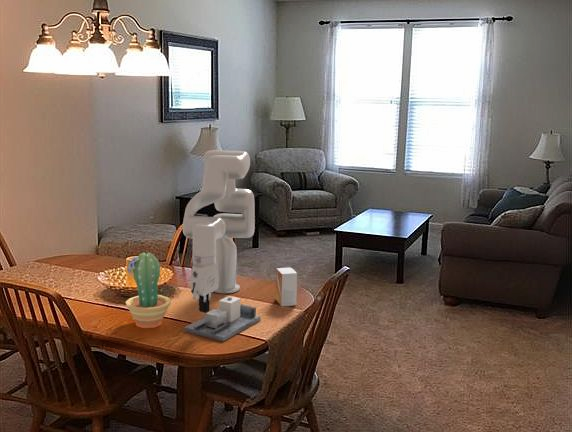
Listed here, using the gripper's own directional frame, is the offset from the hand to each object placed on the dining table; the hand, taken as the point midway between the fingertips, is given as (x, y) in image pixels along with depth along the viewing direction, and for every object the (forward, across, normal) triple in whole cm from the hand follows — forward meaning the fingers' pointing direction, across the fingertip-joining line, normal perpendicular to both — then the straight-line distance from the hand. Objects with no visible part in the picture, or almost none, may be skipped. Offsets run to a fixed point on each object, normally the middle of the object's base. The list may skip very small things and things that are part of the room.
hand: (204, 311), depth 211 cm
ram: (+6, +5, -2) cm, 8 cm away
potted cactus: (+8, -4, +21) cm, 22 cm away
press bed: (+8, +8, -2) cm, 11 cm away
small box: (+9, +42, -8) cm, 43 cm away
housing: (+6, +12, -2) cm, 13 cm away
